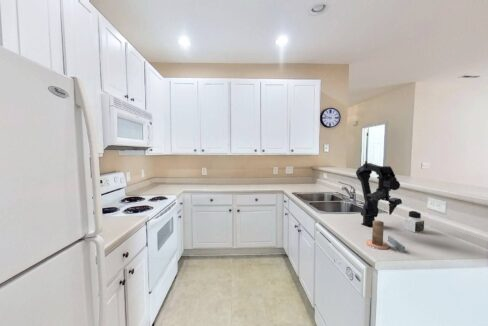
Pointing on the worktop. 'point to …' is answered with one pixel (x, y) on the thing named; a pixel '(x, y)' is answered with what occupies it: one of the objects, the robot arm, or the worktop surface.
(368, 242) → the resting pad
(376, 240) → the walnut cylinder
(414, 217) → the medicine bottle
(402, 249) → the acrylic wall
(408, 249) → the worktop surface
